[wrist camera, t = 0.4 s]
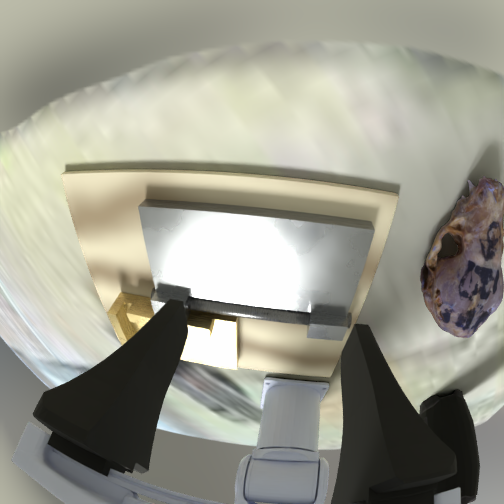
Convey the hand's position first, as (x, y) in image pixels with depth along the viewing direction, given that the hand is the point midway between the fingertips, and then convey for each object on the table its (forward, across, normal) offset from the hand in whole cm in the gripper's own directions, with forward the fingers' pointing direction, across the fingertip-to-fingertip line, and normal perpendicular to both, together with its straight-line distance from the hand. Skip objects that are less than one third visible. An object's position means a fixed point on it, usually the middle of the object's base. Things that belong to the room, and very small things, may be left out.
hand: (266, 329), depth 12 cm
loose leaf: (+9, +9, +13) cm, 19 cm away
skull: (+10, -15, 0) cm, 18 cm away
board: (+10, +5, +8) cm, 14 cm away
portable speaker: (+10, -29, +28) cm, 42 cm away
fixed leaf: (+9, +2, +4) cm, 10 cm away
